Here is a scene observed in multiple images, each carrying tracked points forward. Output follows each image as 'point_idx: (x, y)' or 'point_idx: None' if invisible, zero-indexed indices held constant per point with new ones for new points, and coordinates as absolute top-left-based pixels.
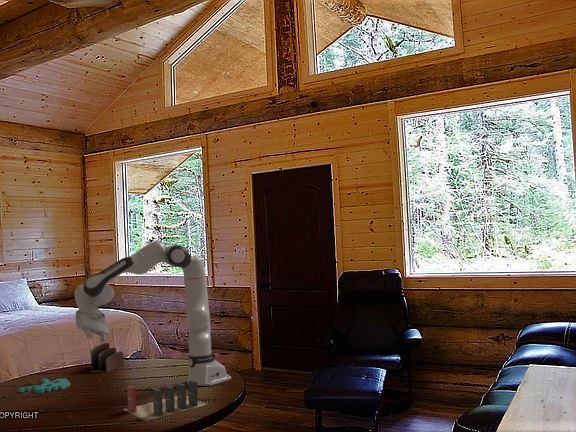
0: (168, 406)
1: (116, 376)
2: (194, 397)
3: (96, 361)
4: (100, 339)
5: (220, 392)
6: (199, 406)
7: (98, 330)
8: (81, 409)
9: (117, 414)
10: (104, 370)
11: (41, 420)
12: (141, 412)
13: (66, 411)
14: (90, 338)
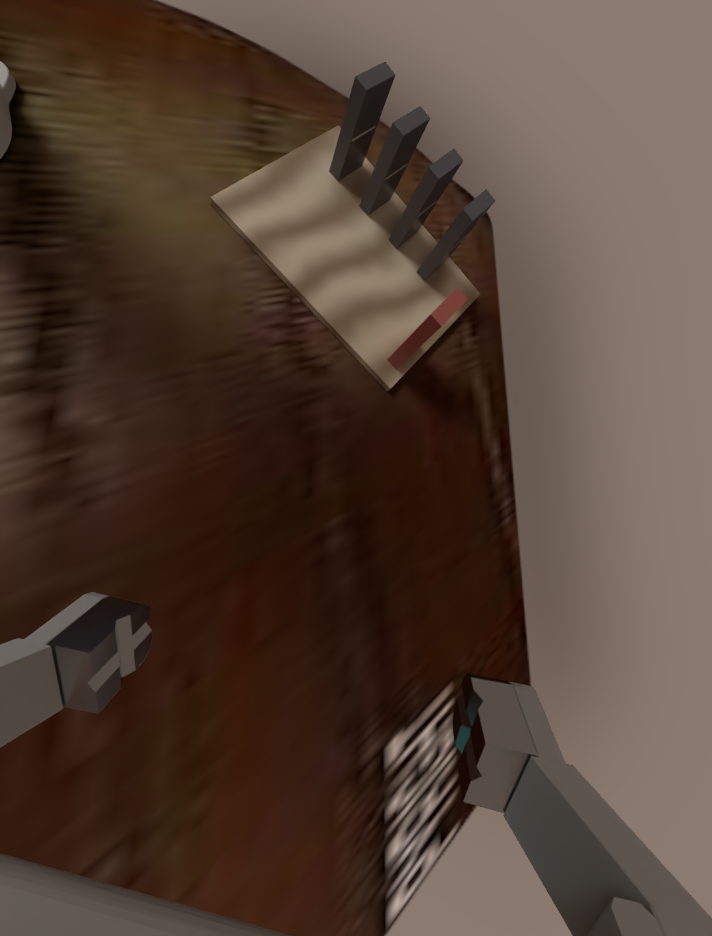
0: (416, 227)
1: None
2: (372, 135)
3: None
4: (110, 684)
5: (155, 66)
6: None
7: (77, 875)
8: (363, 564)
9: (411, 401)
10: None
11: (474, 641)
12: (418, 319)
13: (386, 613)
14: (458, 698)
